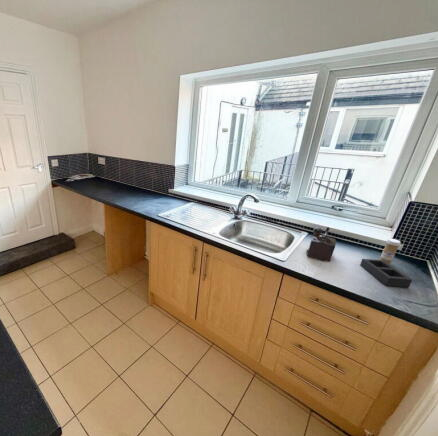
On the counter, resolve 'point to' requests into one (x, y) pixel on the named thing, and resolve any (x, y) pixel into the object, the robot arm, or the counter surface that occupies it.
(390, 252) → the sprinkles bottle
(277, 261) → the counter surface
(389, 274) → the holder
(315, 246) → the brown coffee grinder
